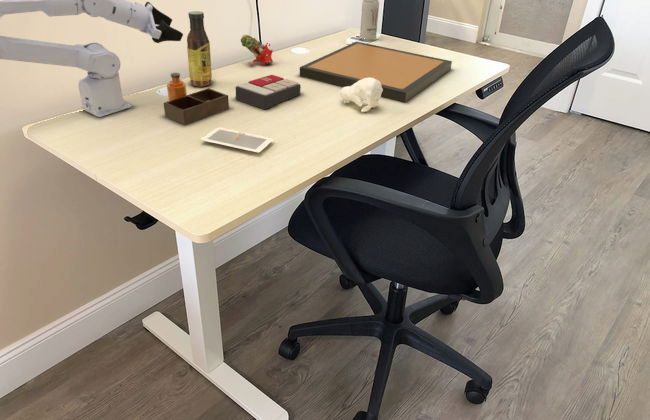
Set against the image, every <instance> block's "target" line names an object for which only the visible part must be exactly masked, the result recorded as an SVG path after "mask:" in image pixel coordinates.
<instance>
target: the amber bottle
mask: <svg viewBox="0 0 650 420" xmlns="http://www.w3.org/2000/svg"><path fill="white" fill-rule="evenodd" d="M170 78H171V80H170V81H169V82H168V83H166V90H167V91H166V92H167V99H168V101H171V100H174V99H177V98H180V97H183V96H186V95H188V92H187V91H188V90H187V83H186V82H184V81H183V80H181V79H180V78H181V73H179V72H171V73H170Z"/></svg>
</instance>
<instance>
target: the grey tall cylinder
mask: <svg viewBox="0 0 650 420" xmlns="http://www.w3.org/2000/svg"><path fill="white" fill-rule="evenodd" d="M361 3H362V4H361V16H360V17H361V18H360V31H359V38H360V40H361V41H363V42H374V41H375V39H376V38H377V34H378V33H377V31H378V20H379V8H380V1H379V0H362V2H361ZM361 37H362V38H361ZM364 38H365V39H364Z"/></svg>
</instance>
